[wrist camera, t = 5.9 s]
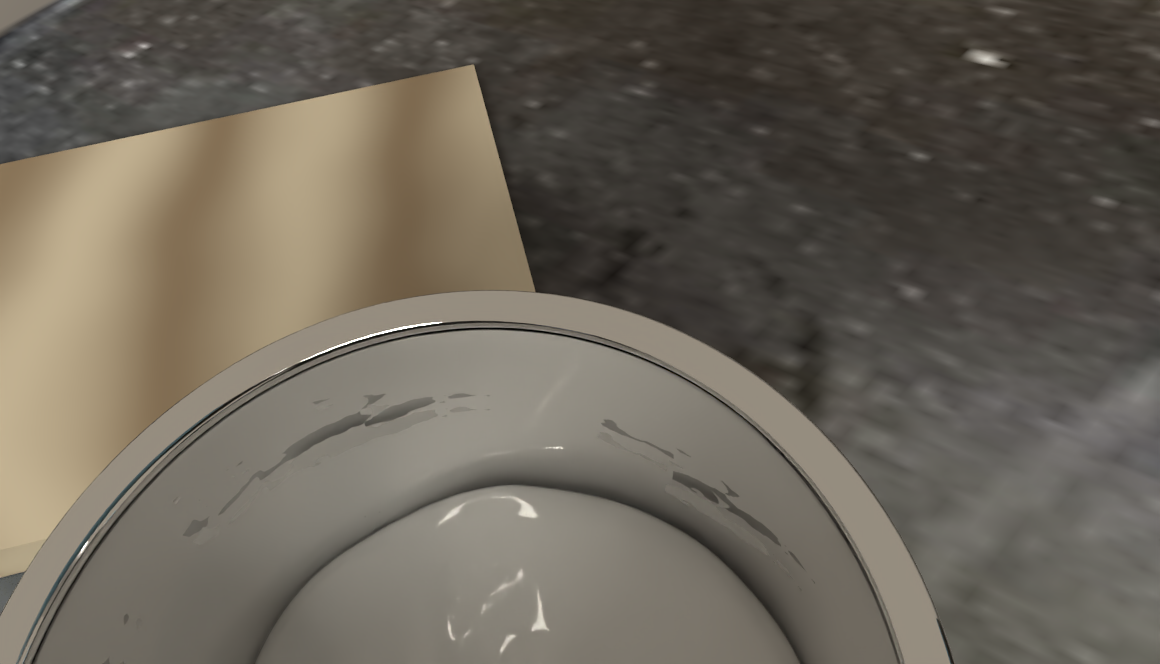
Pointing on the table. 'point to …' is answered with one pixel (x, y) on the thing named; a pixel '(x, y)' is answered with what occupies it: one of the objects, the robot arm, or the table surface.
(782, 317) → the table surface
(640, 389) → the beer glass
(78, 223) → the board
